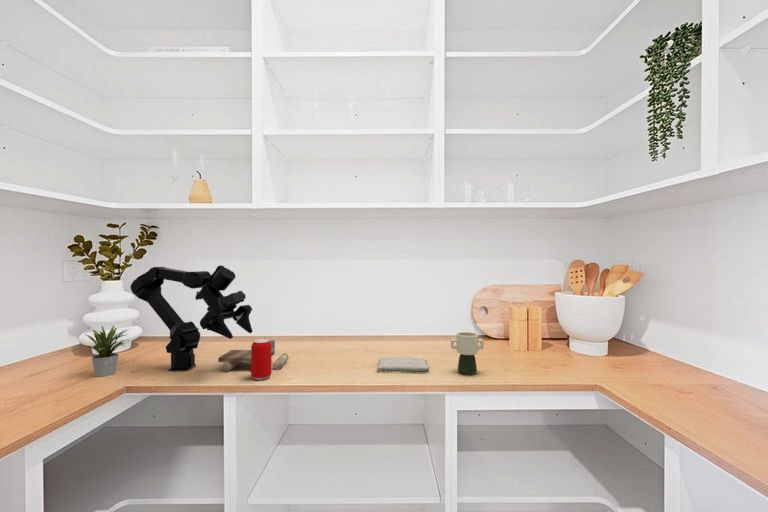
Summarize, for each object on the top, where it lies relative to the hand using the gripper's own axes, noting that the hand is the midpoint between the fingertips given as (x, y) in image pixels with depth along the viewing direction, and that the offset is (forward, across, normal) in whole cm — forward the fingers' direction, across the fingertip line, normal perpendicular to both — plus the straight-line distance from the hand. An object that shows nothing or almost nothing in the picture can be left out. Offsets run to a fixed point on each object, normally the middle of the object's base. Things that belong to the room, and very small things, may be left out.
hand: (242, 335), depth 121 cm
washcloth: (+43, +25, -24) cm, 55 cm away
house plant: (-21, -14, +40) cm, 47 cm away
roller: (+13, +14, +6) cm, 20 cm away
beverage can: (+15, 0, +4) cm, 15 cm away
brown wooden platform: (+6, +9, +13) cm, 17 cm away
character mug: (+58, +27, -39) cm, 75 cm away
